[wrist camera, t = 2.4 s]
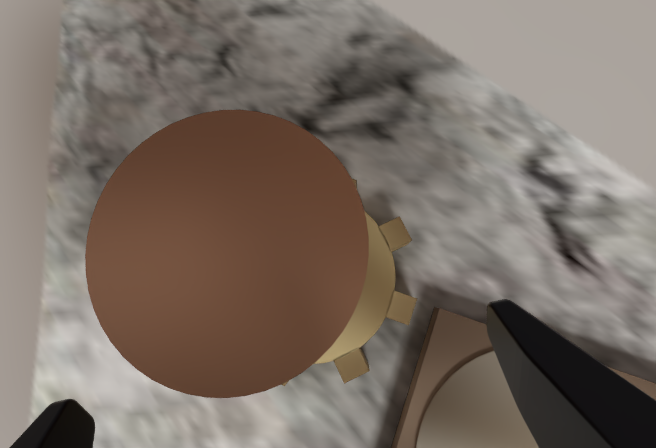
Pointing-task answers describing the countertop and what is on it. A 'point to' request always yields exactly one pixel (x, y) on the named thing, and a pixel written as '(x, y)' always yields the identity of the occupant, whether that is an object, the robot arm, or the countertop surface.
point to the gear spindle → (239, 257)
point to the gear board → (465, 392)
